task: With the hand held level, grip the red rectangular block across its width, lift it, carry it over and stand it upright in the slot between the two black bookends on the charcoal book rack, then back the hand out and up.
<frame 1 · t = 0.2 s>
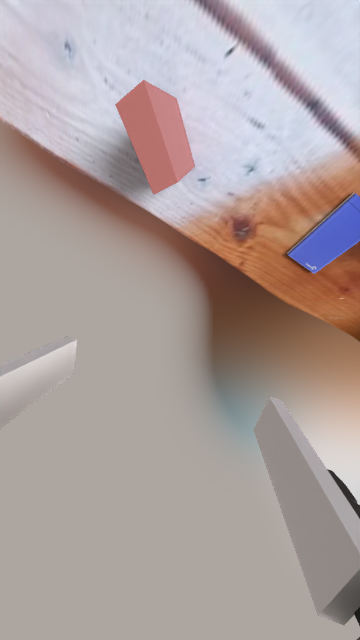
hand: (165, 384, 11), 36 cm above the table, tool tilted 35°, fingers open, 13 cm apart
red rectangular block: (176, 141, 28), on the table
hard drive: (328, 236, 34), on the table
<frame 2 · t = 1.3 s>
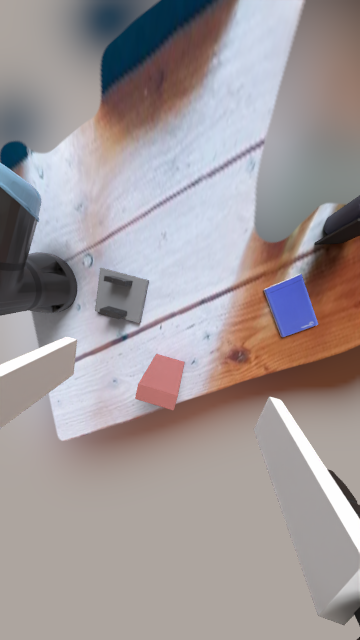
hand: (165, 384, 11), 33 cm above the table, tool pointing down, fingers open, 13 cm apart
red rectangular block: (168, 363, 47), on the table
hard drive: (288, 306, 41), on the table
book rack: (122, 295, 45), on the table
speaker: (333, 225, 36), on the table
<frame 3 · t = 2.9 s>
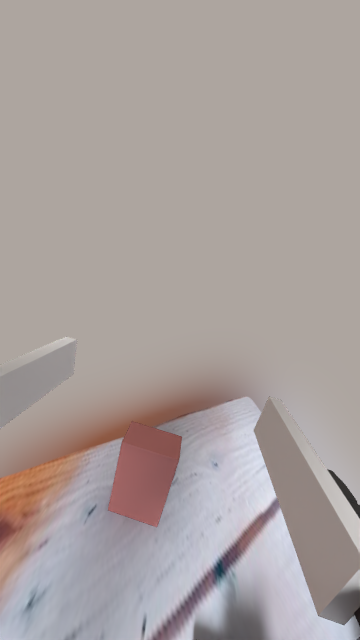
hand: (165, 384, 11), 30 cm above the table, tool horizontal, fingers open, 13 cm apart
red rectangular block: (136, 504, 28), on the table
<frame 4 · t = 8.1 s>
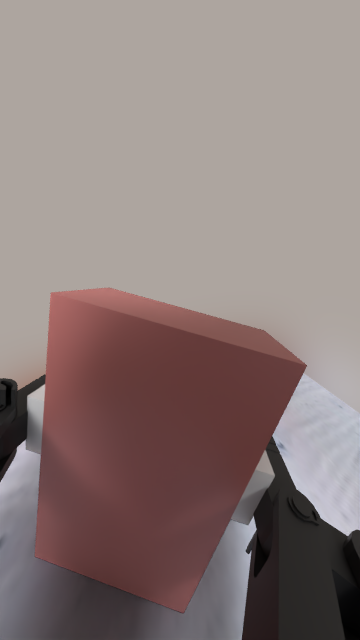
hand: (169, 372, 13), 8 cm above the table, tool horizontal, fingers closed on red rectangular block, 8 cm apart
red rectangular block: (122, 534, 10), on the table, touching gripper
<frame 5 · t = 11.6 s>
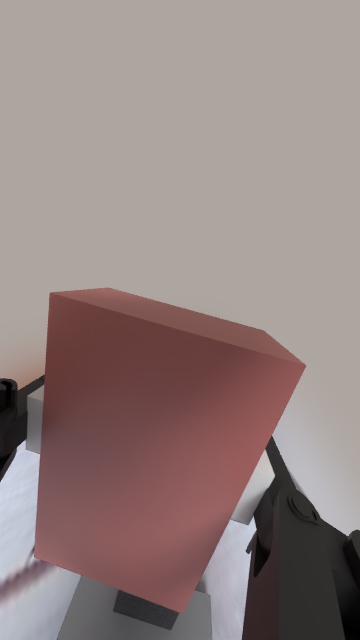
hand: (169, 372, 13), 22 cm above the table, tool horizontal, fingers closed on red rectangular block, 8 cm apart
red rectangular block: (122, 534, 10), point 13 cm above the table, touching gripper
when the fingers open (11 cm above the table, at t = 15.0 s): red rectangular block drops 1 cm, resting on book rack.
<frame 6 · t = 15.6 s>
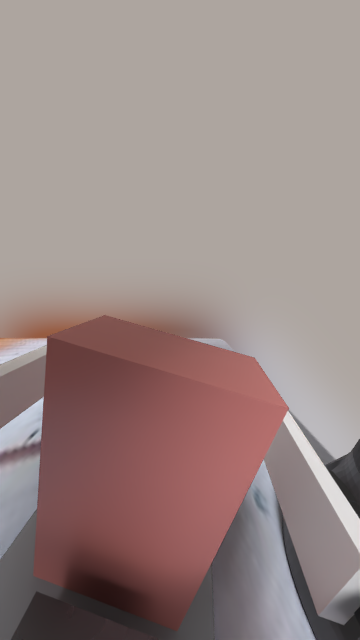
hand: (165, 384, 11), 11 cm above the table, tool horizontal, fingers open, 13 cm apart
red rectangular block: (119, 551, 11), point 1 cm above the table, touching book rack
book rack: (115, 563, 11), on the table
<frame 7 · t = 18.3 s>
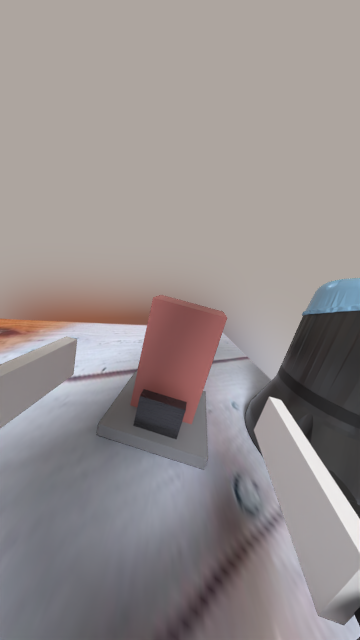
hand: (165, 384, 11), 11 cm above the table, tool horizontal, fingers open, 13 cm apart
red rectangular block: (163, 404, 23), point 1 cm above the table, touching book rack
book rack: (160, 413, 24), on the table
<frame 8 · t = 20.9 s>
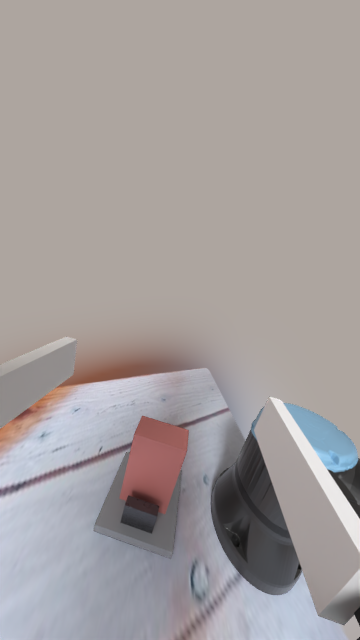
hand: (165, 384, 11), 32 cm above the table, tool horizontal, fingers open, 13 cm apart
red rectangular block: (145, 493, 30), point 1 cm above the table, touching book rack
book rack: (143, 498, 31), on the table
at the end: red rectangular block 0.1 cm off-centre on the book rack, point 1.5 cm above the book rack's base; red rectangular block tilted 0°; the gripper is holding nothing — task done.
